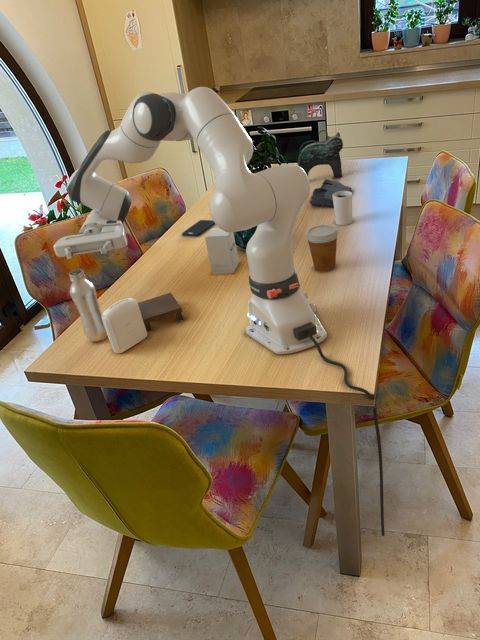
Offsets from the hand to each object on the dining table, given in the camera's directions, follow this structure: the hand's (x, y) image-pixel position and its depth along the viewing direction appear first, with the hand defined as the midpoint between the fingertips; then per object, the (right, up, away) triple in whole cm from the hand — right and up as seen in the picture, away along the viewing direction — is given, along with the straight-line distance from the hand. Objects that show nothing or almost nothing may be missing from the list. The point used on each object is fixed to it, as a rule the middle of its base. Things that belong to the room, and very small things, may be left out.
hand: (85, 254), depth 153 cm
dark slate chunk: (+74, +33, +67) cm, 106 cm away
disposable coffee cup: (+67, -1, +17) cm, 69 cm away
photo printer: (+13, -25, -4) cm, 28 cm away
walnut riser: (+19, -17, +5) cm, 26 cm away
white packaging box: (+36, -1, +26) cm, 45 cm away
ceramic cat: (+74, +47, +89) cm, 125 cm away
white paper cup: (+77, +19, +45) cm, 91 cm away
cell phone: (+24, +20, +60) cm, 68 cm away
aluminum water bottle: (+4, -23, +1) cm, 23 cm away
